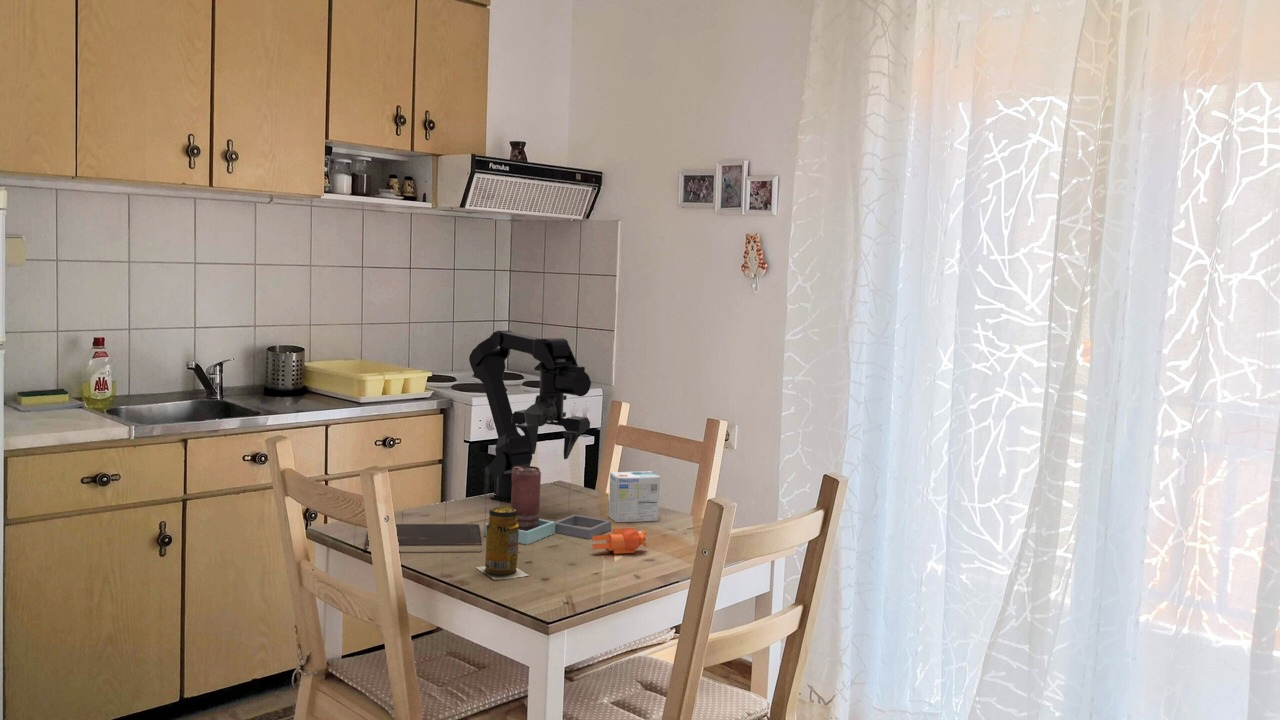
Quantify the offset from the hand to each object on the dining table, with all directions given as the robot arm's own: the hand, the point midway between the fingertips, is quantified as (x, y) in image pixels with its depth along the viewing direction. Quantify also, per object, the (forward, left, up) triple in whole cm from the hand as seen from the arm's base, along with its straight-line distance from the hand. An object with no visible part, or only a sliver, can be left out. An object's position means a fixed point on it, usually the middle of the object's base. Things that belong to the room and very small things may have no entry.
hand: (549, 456), depth 243 cm
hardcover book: (-6, -38, -14) cm, 41 cm away
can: (+7, -21, -13) cm, 26 cm away
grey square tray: (+16, -11, -13) cm, 23 cm away
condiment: (+19, -46, -13) cm, 51 cm away
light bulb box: (+20, +6, -13) cm, 25 cm away
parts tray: (+7, -22, -13) cm, 26 cm away
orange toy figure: (+30, -20, -13) cm, 39 cm away
